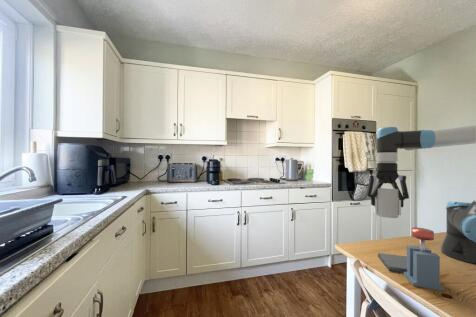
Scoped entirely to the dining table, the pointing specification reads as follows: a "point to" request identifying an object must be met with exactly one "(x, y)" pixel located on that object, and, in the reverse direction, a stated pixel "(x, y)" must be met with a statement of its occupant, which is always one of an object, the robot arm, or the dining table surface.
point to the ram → (422, 236)
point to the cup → (387, 202)
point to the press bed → (394, 262)
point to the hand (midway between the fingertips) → (386, 213)
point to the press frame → (423, 268)
